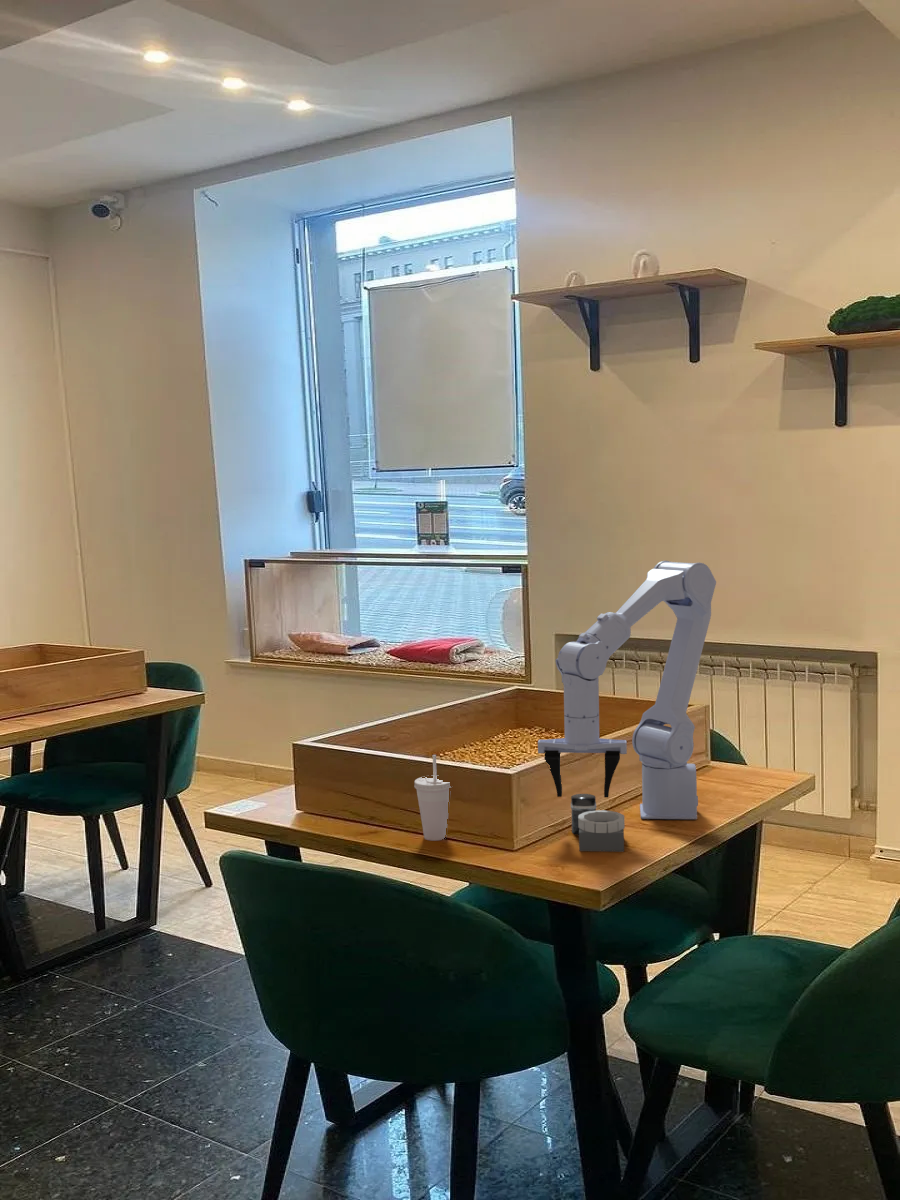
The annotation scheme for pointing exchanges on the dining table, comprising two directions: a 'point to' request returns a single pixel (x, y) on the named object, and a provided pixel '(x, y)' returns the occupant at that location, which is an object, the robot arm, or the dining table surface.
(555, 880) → the dining table surface
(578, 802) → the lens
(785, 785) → the dining table surface
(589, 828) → the block with notched collar
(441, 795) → the smoothie
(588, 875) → the dining table surface
